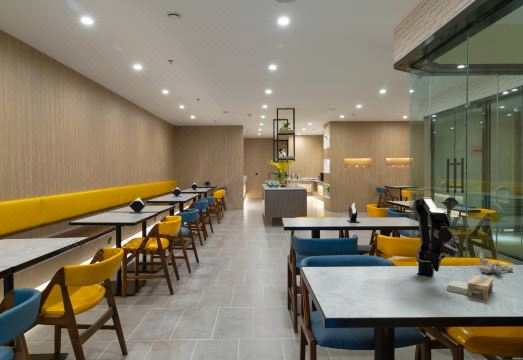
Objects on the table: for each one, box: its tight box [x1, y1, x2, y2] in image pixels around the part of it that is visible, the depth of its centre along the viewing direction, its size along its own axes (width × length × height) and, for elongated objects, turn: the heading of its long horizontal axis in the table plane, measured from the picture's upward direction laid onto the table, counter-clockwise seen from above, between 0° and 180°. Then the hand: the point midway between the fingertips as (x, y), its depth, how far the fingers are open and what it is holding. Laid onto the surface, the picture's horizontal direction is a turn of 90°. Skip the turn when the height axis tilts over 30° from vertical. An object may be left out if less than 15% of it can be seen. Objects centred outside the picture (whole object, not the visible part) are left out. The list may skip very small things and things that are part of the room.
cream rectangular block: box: [447, 280, 483, 295], centre depth 145 cm, size 13×10×2 cm
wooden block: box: [466, 275, 494, 301], centre depth 142 cm, size 7×15×6 cm, turn 138°
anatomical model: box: [478, 250, 514, 274], centre depth 180 cm, size 19×8×20 cm
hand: (436, 271), depth 154 cm, fingers closed
